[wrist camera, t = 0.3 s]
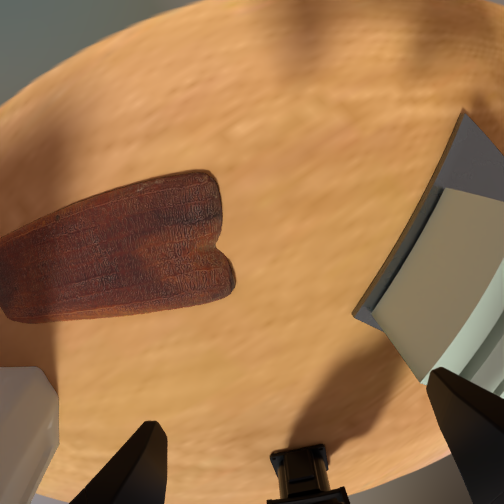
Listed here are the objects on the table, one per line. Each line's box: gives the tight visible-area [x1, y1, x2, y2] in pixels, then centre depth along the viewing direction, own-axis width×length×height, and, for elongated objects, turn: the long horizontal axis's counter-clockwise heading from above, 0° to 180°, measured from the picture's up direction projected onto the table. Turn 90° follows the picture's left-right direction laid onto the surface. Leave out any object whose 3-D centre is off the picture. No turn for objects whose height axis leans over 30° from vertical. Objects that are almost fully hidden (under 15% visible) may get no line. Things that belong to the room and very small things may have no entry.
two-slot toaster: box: [371, 188, 504, 399], centre depth 19 cm, size 12×14×9 cm
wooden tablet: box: [0, 172, 235, 324], centre depth 22 cm, size 27×10×2 cm, turn 101°
